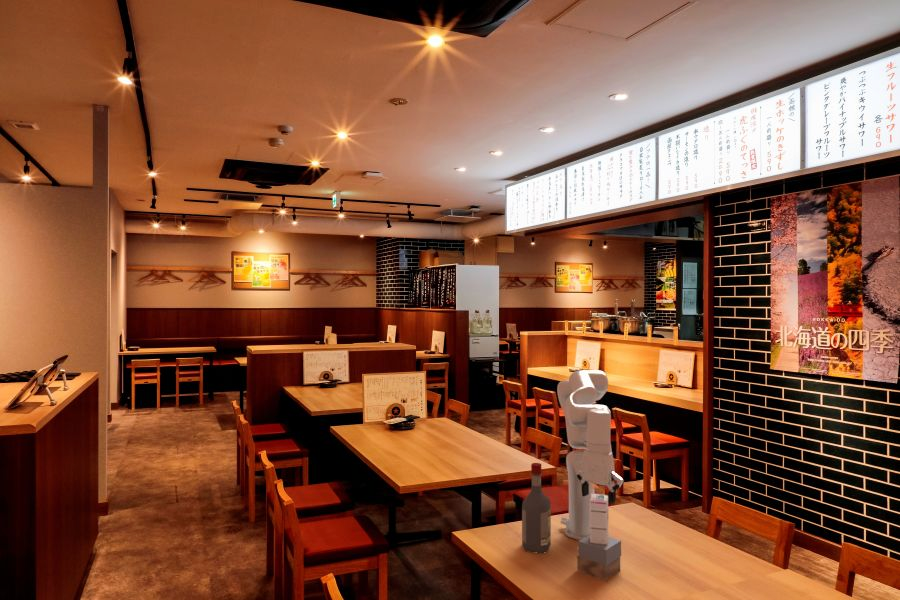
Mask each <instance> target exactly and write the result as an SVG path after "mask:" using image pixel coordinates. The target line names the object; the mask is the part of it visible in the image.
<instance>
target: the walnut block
mask: <svg viewBox="0 0 900 600" xmlns="http://www.w3.org/2000/svg"><path fill="white" fill-rule="evenodd" d="M576 560H577V561H576V563H577V566H576V567H577V570H576V571H577V572H579V571H580V573H582V574H585V575H587V574H588V576H590V575H591V576H590V577H593V578H595V577H596V578H595V579H599V580H601V581H603V580H604V582H606V581H607V580H609V579H610V578H611V577H612V576H615V574H618V573H619V572H620V571H621V556H620V557H619V558H617V559H616V560H614V561H613V562H611V563H610V564H608V565H607V566H605V565H602V564H599V563H596V562H593V561H590V560H587V559H585V558H582V557H579V556H577V558H576ZM605 580H606V581H605Z"/></svg>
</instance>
